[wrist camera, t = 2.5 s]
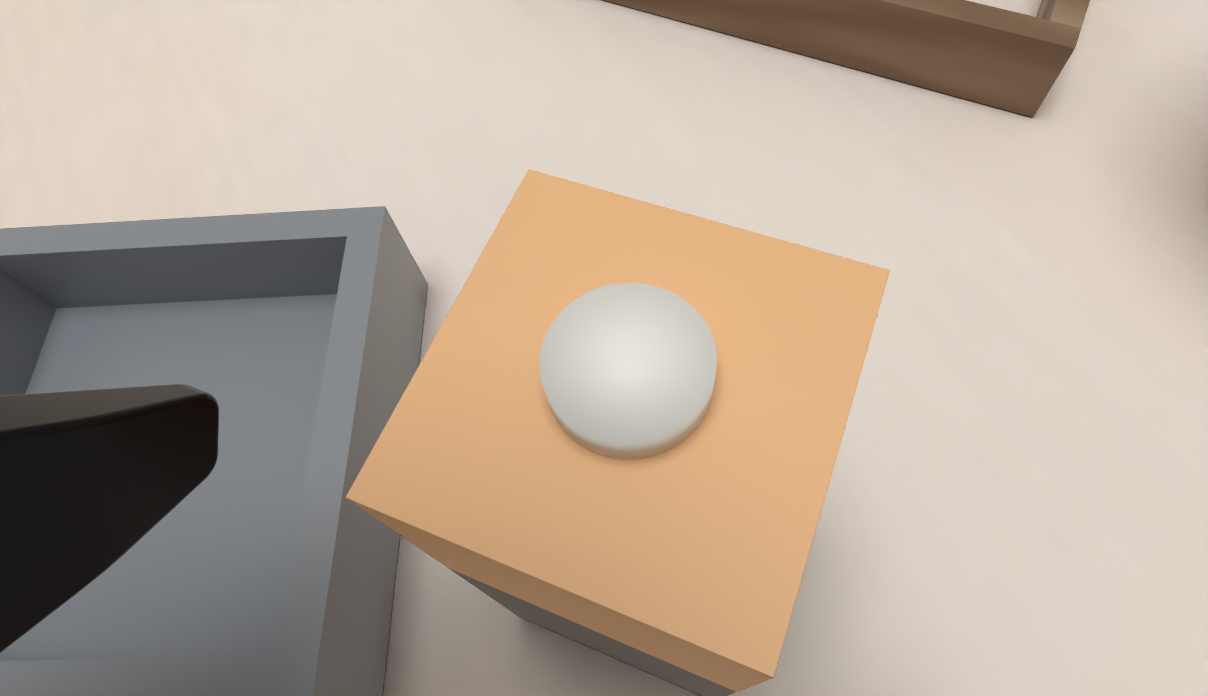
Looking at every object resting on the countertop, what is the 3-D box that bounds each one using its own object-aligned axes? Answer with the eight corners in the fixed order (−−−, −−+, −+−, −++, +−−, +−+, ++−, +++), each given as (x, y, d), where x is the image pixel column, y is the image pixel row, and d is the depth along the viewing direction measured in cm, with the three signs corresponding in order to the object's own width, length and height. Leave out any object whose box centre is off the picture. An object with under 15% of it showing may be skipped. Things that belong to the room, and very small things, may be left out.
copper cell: (712, 701, 15) (782, 673, 6) (519, 616, 17) (325, 483, 7) (775, 502, 17) (902, 245, 8) (596, 437, 18) (521, 141, 9)
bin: (380, 708, 16) (311, 705, 13) (-85, 715, 17) (-260, 713, 13) (427, 283, 21) (385, 206, 18) (64, 302, 21) (-40, 231, 18)
